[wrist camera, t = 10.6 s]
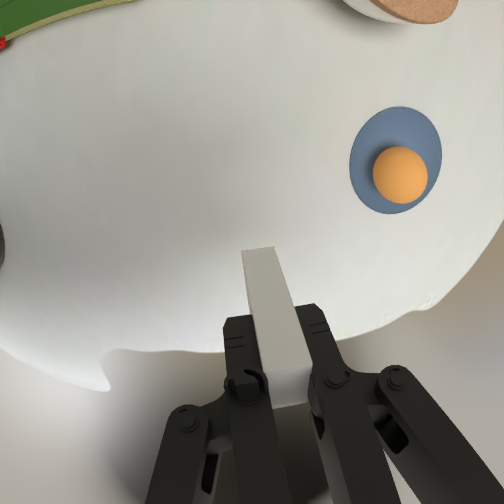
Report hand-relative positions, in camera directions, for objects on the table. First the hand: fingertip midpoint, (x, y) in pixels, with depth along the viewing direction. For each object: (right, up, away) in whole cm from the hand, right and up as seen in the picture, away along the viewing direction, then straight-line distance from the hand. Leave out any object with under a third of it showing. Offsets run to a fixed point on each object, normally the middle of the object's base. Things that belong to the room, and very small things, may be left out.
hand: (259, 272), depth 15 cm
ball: (+14, +8, +11) cm, 19 cm away
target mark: (+15, +10, +13) cm, 22 cm away
